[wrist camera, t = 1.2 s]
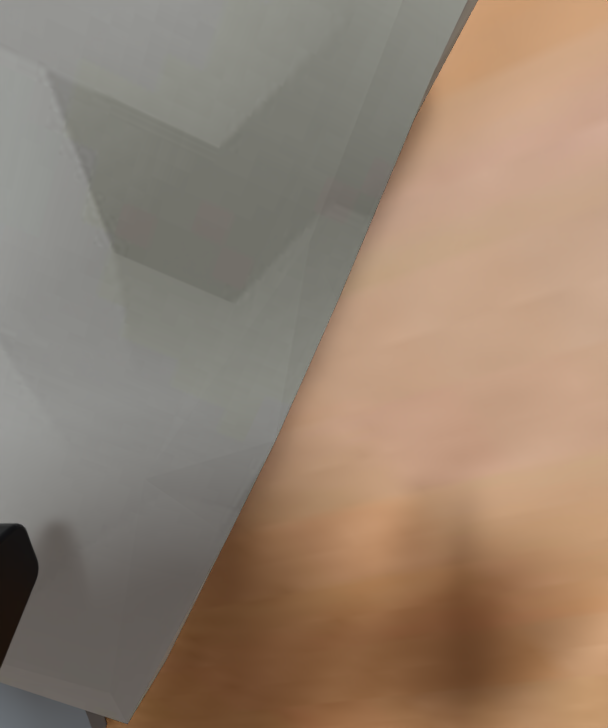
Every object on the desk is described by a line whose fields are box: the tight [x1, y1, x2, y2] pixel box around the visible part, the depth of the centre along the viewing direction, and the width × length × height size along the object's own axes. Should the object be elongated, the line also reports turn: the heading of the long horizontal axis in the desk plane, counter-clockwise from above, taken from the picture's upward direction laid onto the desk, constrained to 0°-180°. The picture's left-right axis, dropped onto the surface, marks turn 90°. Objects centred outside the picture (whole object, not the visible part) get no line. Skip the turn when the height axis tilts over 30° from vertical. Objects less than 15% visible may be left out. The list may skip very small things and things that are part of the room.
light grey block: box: [0, 0, 478, 724], centre depth 10 cm, size 18×5×10 cm
